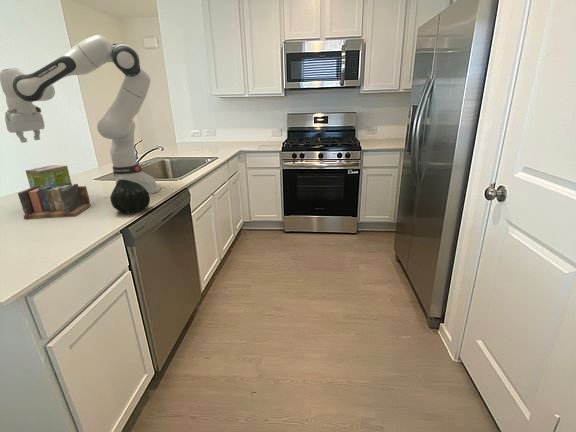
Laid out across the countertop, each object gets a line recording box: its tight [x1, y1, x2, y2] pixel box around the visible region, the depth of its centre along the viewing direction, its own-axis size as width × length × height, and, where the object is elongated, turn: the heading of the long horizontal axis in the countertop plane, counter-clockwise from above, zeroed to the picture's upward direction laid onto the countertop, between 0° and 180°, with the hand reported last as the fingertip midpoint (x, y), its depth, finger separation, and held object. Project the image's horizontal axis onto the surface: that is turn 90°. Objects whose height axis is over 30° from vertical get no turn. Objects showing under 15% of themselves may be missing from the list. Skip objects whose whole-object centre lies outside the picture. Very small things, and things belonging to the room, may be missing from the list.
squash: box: [110, 179, 151, 215], centre depth 136 cm, size 14×15×15 cm
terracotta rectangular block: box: [28, 188, 45, 212], centre depth 135 cm, size 3×6×9 cm, turn 8°
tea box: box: [25, 164, 73, 188], centre depth 161 cm, size 15×10×15 cm, turn 168°
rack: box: [17, 183, 92, 220], centre depth 136 cm, size 20×14×12 cm
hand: (31, 141), depth 143 cm, fingers open, 8 cm apart
